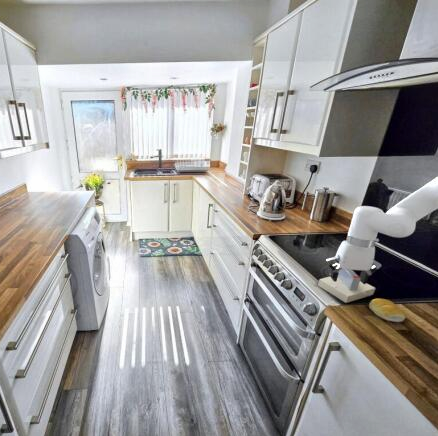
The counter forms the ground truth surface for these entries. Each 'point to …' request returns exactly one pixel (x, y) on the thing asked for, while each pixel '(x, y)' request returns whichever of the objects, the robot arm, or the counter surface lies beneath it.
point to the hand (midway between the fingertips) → (347, 280)
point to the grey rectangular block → (349, 279)
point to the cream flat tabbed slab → (345, 289)
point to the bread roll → (387, 310)
